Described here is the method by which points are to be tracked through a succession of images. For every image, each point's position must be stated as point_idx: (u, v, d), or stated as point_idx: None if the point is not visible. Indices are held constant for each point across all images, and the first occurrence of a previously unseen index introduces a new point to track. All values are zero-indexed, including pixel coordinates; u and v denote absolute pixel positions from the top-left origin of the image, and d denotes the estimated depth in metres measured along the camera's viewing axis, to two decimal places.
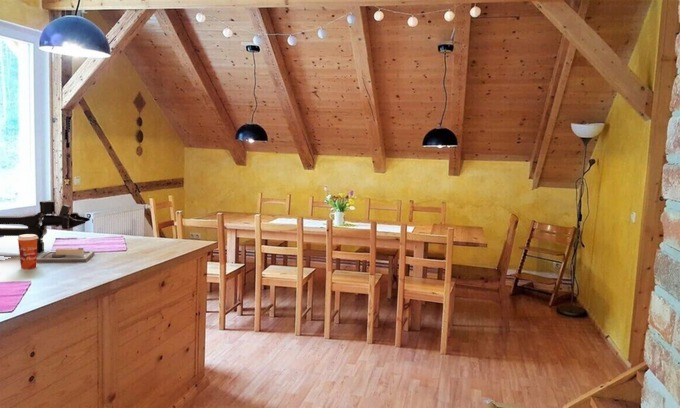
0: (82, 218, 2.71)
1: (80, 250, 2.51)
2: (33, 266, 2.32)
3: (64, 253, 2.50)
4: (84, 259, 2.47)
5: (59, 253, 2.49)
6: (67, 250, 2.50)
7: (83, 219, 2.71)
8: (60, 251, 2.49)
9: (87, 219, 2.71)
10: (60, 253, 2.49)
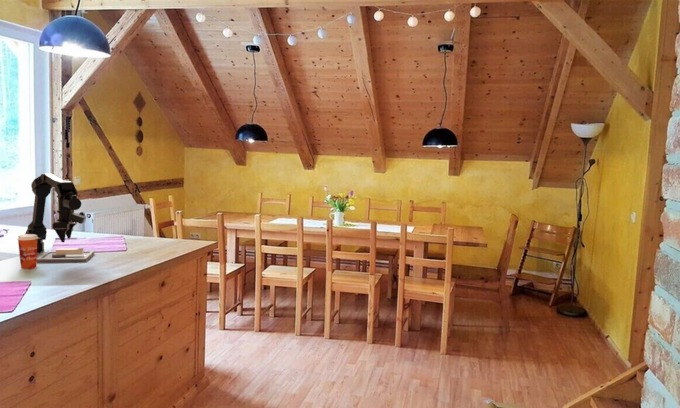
0: (69, 231, 2.44)
1: (80, 250, 2.51)
2: (33, 266, 2.32)
3: (64, 253, 2.50)
4: (84, 259, 2.47)
5: (59, 253, 2.49)
6: (67, 250, 2.50)
7: (68, 232, 2.44)
8: (60, 251, 2.49)
9: (68, 236, 2.44)
10: (60, 253, 2.49)
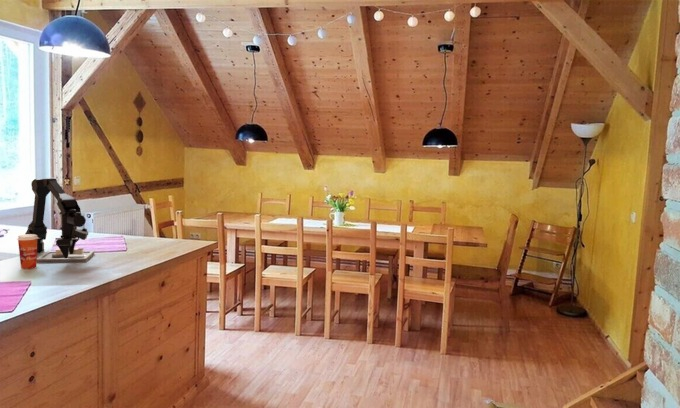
0: (72, 246, 2.49)
1: (80, 250, 2.51)
2: (33, 266, 2.32)
3: None
4: (84, 259, 2.47)
5: (59, 253, 2.49)
6: None
7: (71, 247, 2.49)
8: (60, 251, 2.49)
9: (71, 251, 2.49)
10: (60, 253, 2.49)
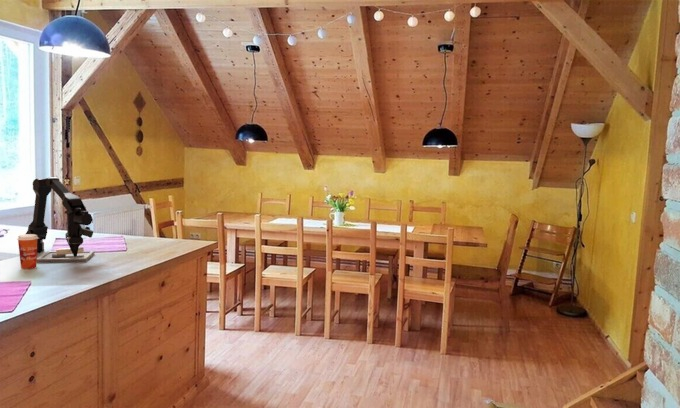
0: None
1: (81, 249, 2.53)
2: (33, 266, 2.32)
3: (65, 253, 2.50)
4: (84, 259, 2.47)
5: (60, 253, 2.49)
6: (68, 250, 2.51)
7: None
8: (61, 251, 2.49)
9: None
10: (61, 253, 2.50)
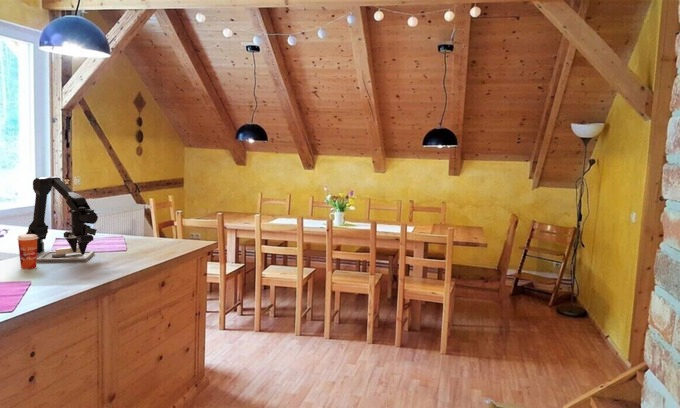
0: (75, 244, 2.53)
1: None
2: (33, 266, 2.32)
3: (65, 252, 2.51)
4: (84, 259, 2.47)
5: (61, 253, 2.50)
6: (68, 249, 2.52)
7: (74, 245, 2.53)
8: (62, 251, 2.50)
9: (74, 249, 2.53)
10: (62, 253, 2.50)
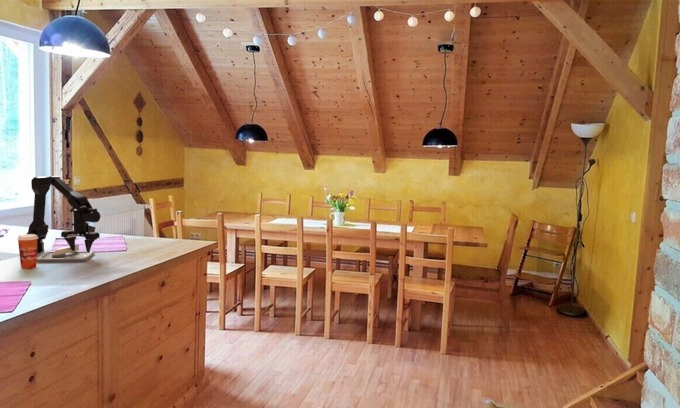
0: (73, 243, 2.55)
1: (77, 246, 2.59)
2: (33, 266, 2.32)
3: (65, 252, 2.52)
4: (84, 259, 2.47)
5: (61, 252, 2.50)
6: (67, 248, 2.54)
7: (73, 244, 2.55)
8: (62, 250, 2.51)
9: (73, 248, 2.55)
10: (62, 252, 2.51)
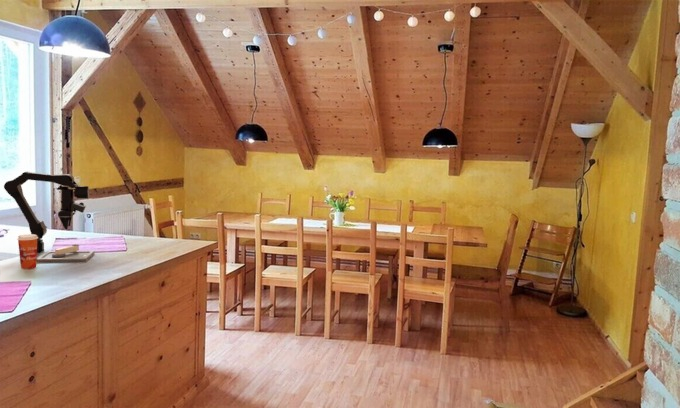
0: (69, 219, 2.71)
1: (77, 246, 2.59)
2: (33, 266, 2.32)
3: (65, 252, 2.52)
4: (84, 259, 2.47)
5: (61, 252, 2.50)
6: (67, 248, 2.54)
7: (68, 220, 2.70)
8: (62, 250, 2.51)
9: (68, 224, 2.70)
10: (62, 252, 2.51)
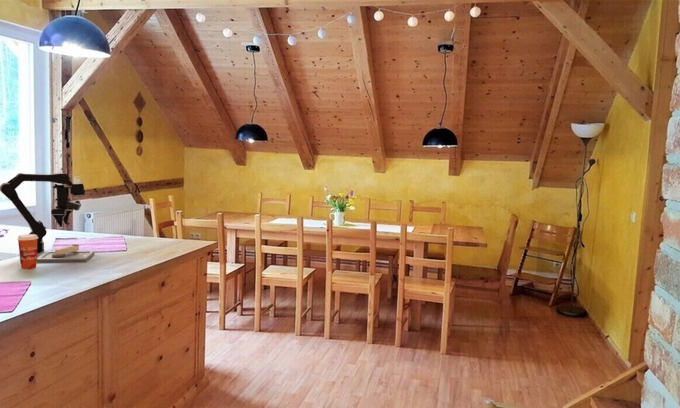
0: (66, 217, 2.74)
1: (77, 246, 2.59)
2: (33, 266, 2.32)
3: (65, 252, 2.52)
4: (84, 259, 2.47)
5: (61, 252, 2.50)
6: (67, 248, 2.54)
7: (65, 218, 2.74)
8: (62, 250, 2.51)
9: (65, 221, 2.74)
10: (62, 252, 2.51)
